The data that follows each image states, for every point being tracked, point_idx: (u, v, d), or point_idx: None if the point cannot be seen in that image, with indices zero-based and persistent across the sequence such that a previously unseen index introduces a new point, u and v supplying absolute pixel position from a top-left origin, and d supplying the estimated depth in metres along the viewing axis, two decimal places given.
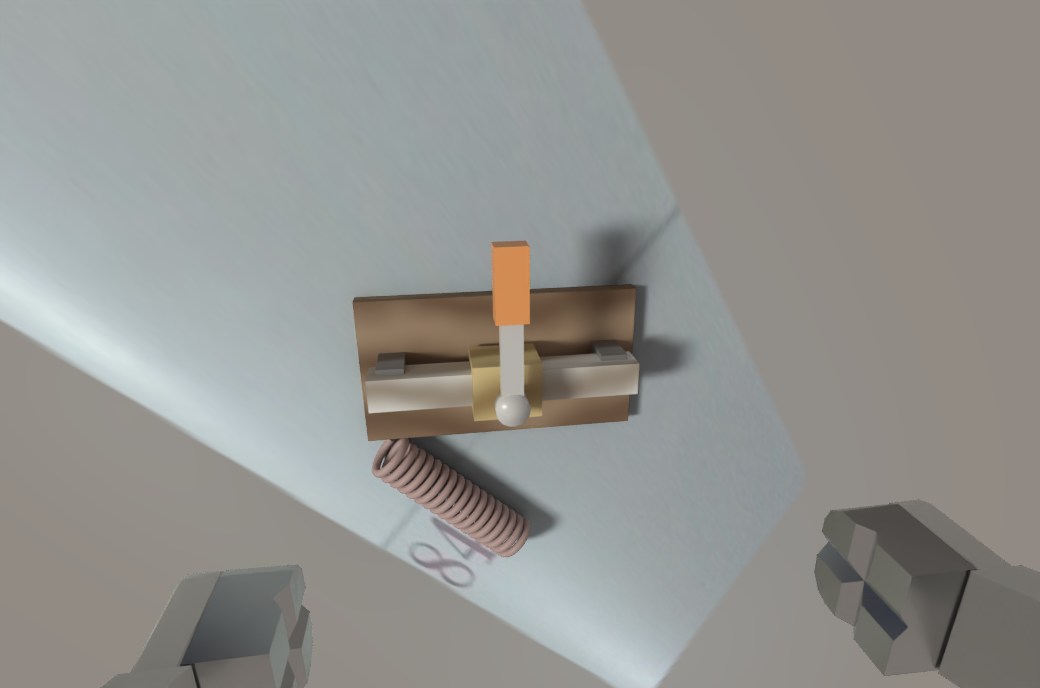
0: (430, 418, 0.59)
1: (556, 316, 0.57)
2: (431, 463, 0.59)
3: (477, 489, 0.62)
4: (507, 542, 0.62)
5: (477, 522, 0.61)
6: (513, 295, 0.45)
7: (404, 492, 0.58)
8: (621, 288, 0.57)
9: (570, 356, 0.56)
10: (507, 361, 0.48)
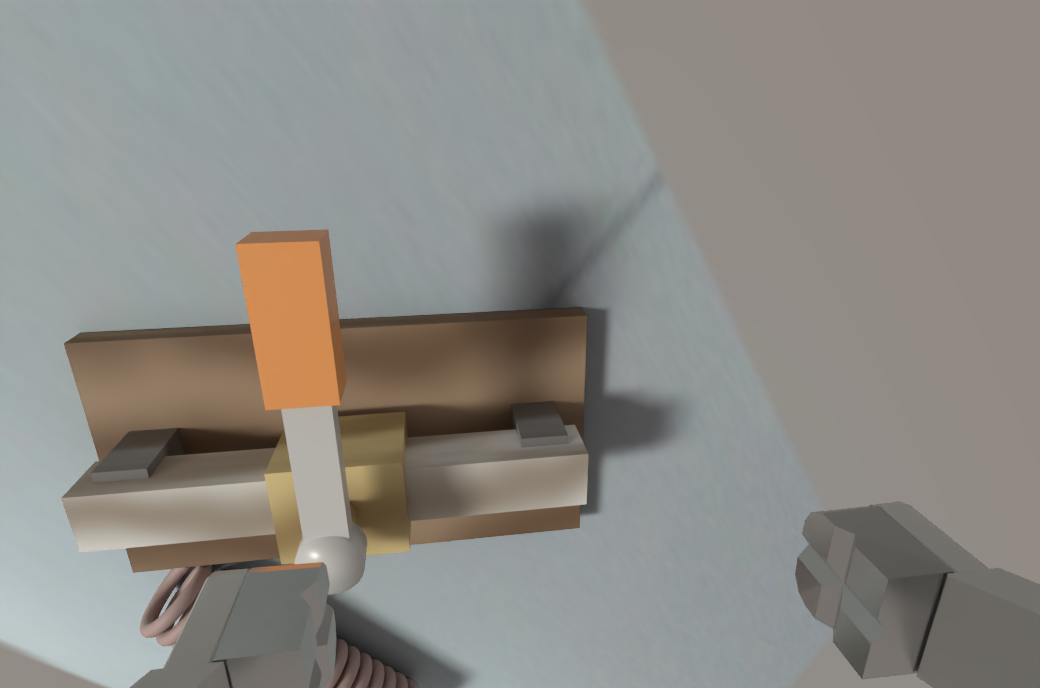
0: None
1: (447, 363, 0.33)
2: None
3: None
4: None
5: None
6: (295, 348, 0.21)
7: None
8: (561, 314, 0.33)
9: (469, 436, 0.32)
10: (305, 475, 0.23)
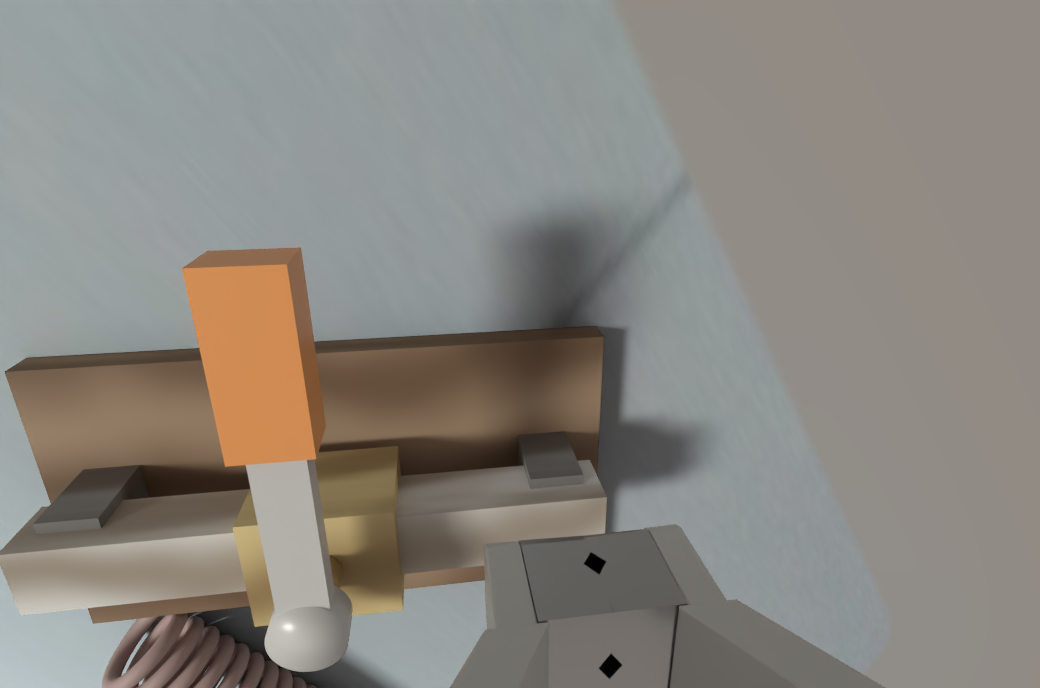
0: None
1: (445, 391, 0.29)
2: (222, 667, 0.31)
3: None
4: None
5: None
6: (260, 393, 0.17)
7: None
8: (575, 335, 0.29)
9: (471, 474, 0.28)
10: (276, 539, 0.20)
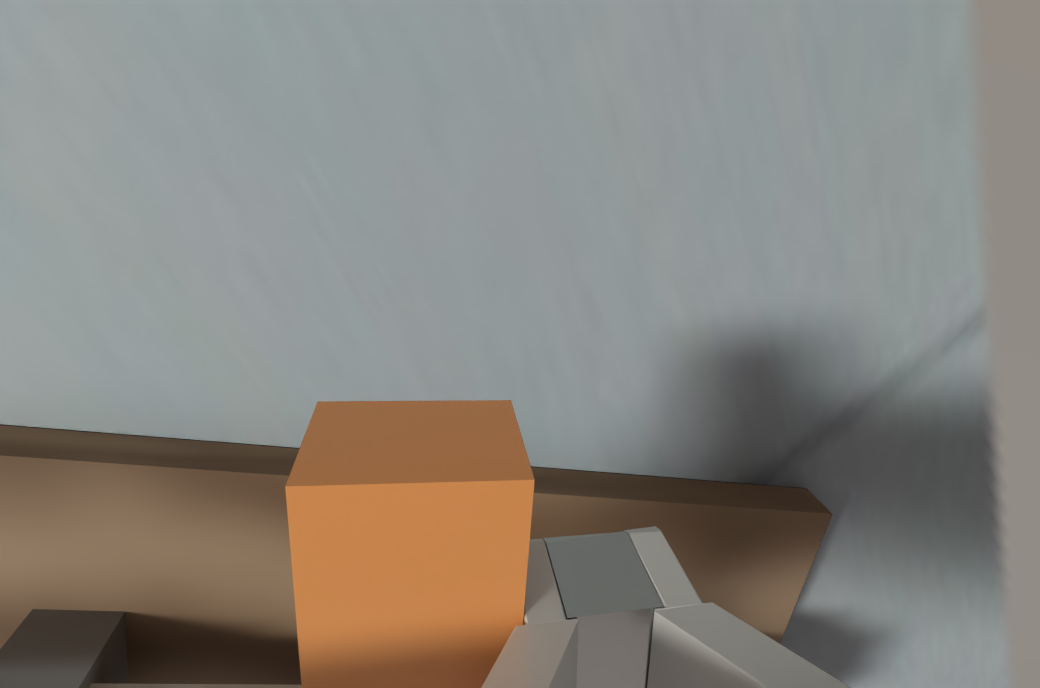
0: None
1: None
2: None
3: None
4: None
5: None
6: None
7: None
8: (791, 505, 0.20)
9: None
10: None
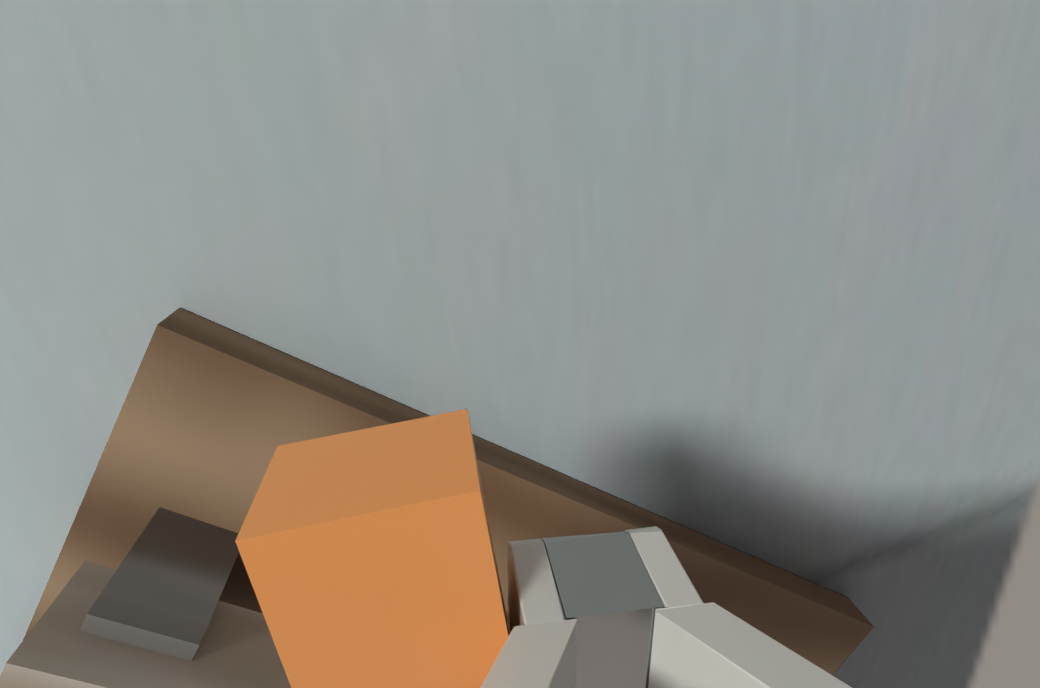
0: None
1: None
2: None
3: None
4: None
5: None
6: None
7: None
8: (843, 609, 0.23)
9: None
10: None
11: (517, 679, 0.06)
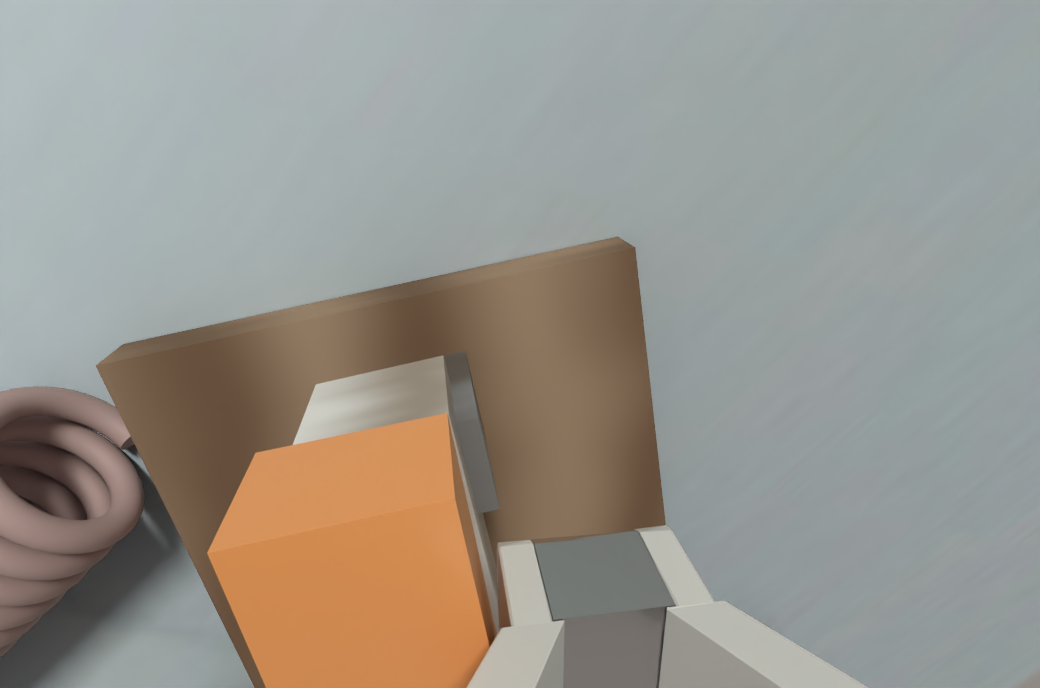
0: None
1: None
2: (40, 615, 0.16)
3: None
4: None
5: None
6: None
7: None
8: None
9: None
10: None
11: (502, 681, 0.06)
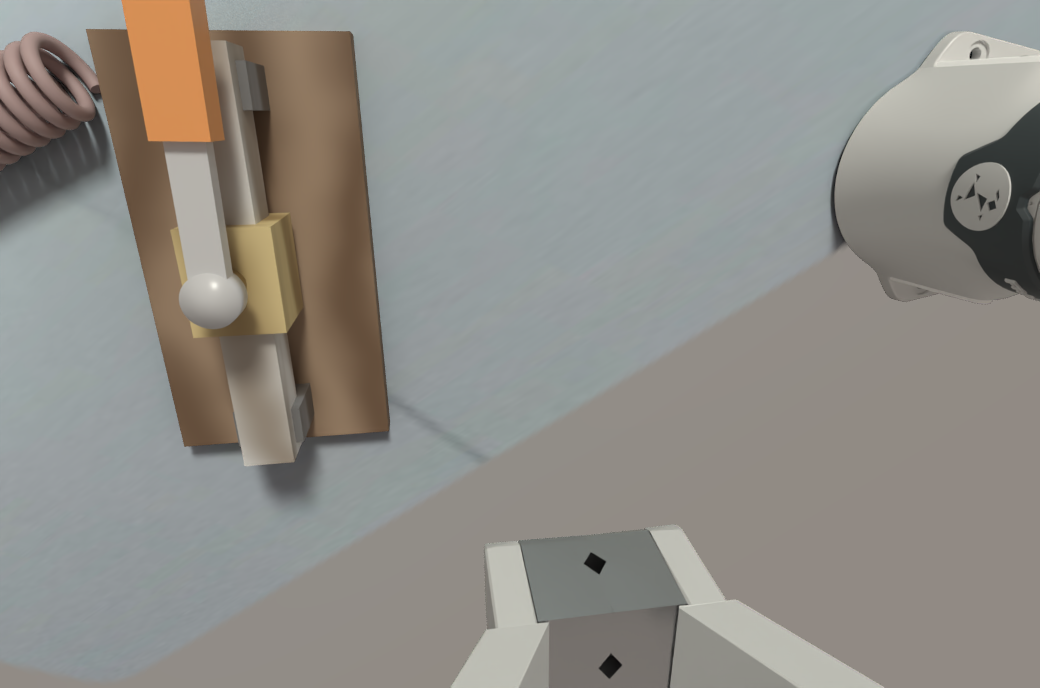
0: (148, 146, 0.35)
1: (344, 334, 0.41)
2: (30, 144, 0.33)
3: None
4: None
5: None
6: (171, 85, 0.26)
7: None
8: (387, 412, 0.44)
9: (290, 362, 0.39)
10: (186, 212, 0.28)
11: (484, 683, 0.06)
